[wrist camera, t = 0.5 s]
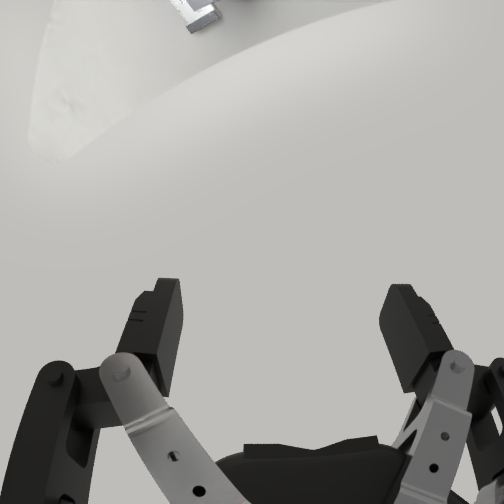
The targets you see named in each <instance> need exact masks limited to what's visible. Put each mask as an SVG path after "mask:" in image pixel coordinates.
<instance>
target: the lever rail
mask: <svg viewBox="0 0 504 504" xmlns="http://www.w3.org/2000/svg"><path fill="white" fill-rule="evenodd" d="M170 1H171V3H172V4H173V5H174V7H175V8H176V9H177V10H178V12H179V13H180V14H181V16H182V17H183V18H184V20H185V21H186V22H187V23H188V26H186V27H187V29H188V30H189V31H190V33H191V34H193V33H194V32H196V31H198V30H199V29H201V28H203V27H204V26H206V25H208V24H209V23H211V22H213V21H215V20H216V19H218V18H219V17H220V16H222V15H221V14H220V12H219V11H218V10H217V8H216V7H215V5H214V4H213V3H212V4H210V5H208V6H206V7H204V8H202V9H200V10H198V11H196V12H194V11H193V9H192V8H191V7H190V5H189V4H188V3H187V1H186V0H170Z"/></svg>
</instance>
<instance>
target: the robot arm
mask: <svg viewBox="0 0 504 504" xmlns="http://www.w3.org/2000/svg"><path fill="white" fill-rule="evenodd" d="M182 325H183V305H182V297H181V289H180V281H179V279H173V278H158V280H157V282H156V285H155V288H154V291H144V292H143V293H142V294H141V295H140V296H139V297H138V298H137V299H136V300H135V302H134V305H133V307H132V310H131V313H130V315H129V318H128V321H127V323H126V325H125V328H124V331H123V333H122V336H121V339H120V342H119V344H118V347H117V350H116V352H115V354H113V355H111V356H109V357H108V358H106V359H105V360H104V361H103V362H102V364H101V366H99V367H97V368H90V369H84V370H74V369H73V367H72V366H71V365H70V364H69V363H67V362H65V361H53V362H50V363H48V364H46V365H45V366H44V367H43V368H42V369H41V370H40V371H39V373H38V375H37V378H36V380H35V383H34V386H33V389H32V391H31V394H30V396H29V399H28V402H27V404H26V407H25V410H24V413H23V416H22V419H21V422H20V425H19V428H18V431H17V434H16V438H15V441H14V444H13V448H12V451H11V455H10V458H9V462H8V466H7V470H6V474H5V478H4V482H3V486H2V491H1V495H0V504H88V498H89V490H90V483H91V477H92V472H93V466H94V460H95V454H96V449H97V444H98V439H99V434H100V429H101V428H106V427H114V426H122V425H123V426H124V428H125V431H126V432H127V434H128V436H129V438H130V440H131V442H132V443H133V445H134V447H135V449H136V450H137V452H138V454H139V456H140V457H141V459H142V461H143V462H144V464H145V466H146V467H147V469H148V470H149V472H150V474H151V475H152V477H153V478H154V480H155V481H156V483H157V484H158V486H159V488H160V489H161V491H162V492H163V493H164V495H165V496H166V498H167V499H168V501H169V502H170V504H469V503H468V502H467V501H465V500H464V499H463V498H461V497H460V496H459V495H457V494H456V493H455V492H453V491H452V490H451V487H452V484H453V481H454V478H455V475H456V472H457V469H458V466H459V463H460V460H461V456H462V453H463V450H464V446H465V443H467V447H468V450H469V454H470V457H471V461H472V465H473V469H474V473H475V477H476V480H477V485H478V490H479V493H478V495H477V500H476V502H474V504H504V358H496V359H494V361H493V362H492V363H491V364H490V366H489V367H486V366H480V365H474V364H473V362H472V360H471V359H470V358H469V356H468V355H466V354H465V353H463V352H461V351H458V350H454V348H453V347H452V345H451V342H450V341H449V339H448V337H447V335H446V333H445V331H444V329H443V328H442V326H441V324H439V320H438V319H437V317H436V316H435V313H434V311H433V310H432V308H431V306H430V305H429V304H428V303H427V302H426V301H425V300H424V299H423V298H422V297H418V296H417V294H416V292H415V291H414V289H413V287H412V286H411V285H410V284H392V285H391V286H390V288H389V290H388V293H387V296H386V299H385V302H384V304H383V307H382V310H381V313H380V317H379V325H380V329H381V332H382V334H383V337H384V340H385V342H386V345H387V347H388V350H389V353H390V355H391V358H392V360H393V364H394V366H395V369H396V372H397V375H398V377H399V380H400V383H401V386H402V389H403V392H404V393H409V392H415V394H416V397H415V398H414V400H413V402H412V405H411V407H410V409H409V412H408V414H407V416H406V419H405V421H404V424H403V426H402V428H401V431H400V432H399V435H398V437H397V438H396V440H395V442H394V443H393V444H392V446H388V445H384V444H379V443H378V438H377V436H369V437H362V438H354V439H347V440H343V441H341V442H338V443H335V444H332V445H329V446H326V447H323V448H320V449H316V450H310V449H303V448H298V447H292V446H287V445H281V444H244V449H243V452H240V453H236V454H233V455H230V456H227V457H225V458H223V459H220V460H218V461H217V462H214V461H213V460H212V459H211V457H210V456H209V455H208V453H207V452H206V451H205V450H204V448H203V447H202V446H201V444H200V443H199V442H198V440H197V439H196V438H195V436H194V435H193V434H192V432H191V431H190V430H189V428H188V427H187V425H186V424H185V423H184V421H183V420H182V418H181V417H180V416H179V414H178V413H177V412H176V410H175V409H174V408H172V407H169V405H168V404H167V402H166V401H165V399H164V398H163V397H169V392H170V387H171V381H172V376H173V370H174V365H175V360H176V355H177V350H178V345H179V340H180V335H181V331H182ZM495 407H496V408H497V411H498V414H499V416H500V419H501V422H502V426H503V429H502V433H501V435H500V436H499V433H498V430H497V427H496V424H495V422H494V419H493V416H492V414H491V411H492V410H493V409H494V408H495Z"/></svg>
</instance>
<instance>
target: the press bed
mask: <svg viewBox="0 0 504 504" xmlns="http://www.w3.org/2000/svg"><path fill="white" fill-rule="evenodd" d="M186 1H187V3H188V4H189V5H190V7H191V8H192V9H193V11H194V12H196V11H198V10H200V9H202V8H204V7H206V6H208V5H210V4H212V3H214V2H217V1H219V0H186Z"/></svg>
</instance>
